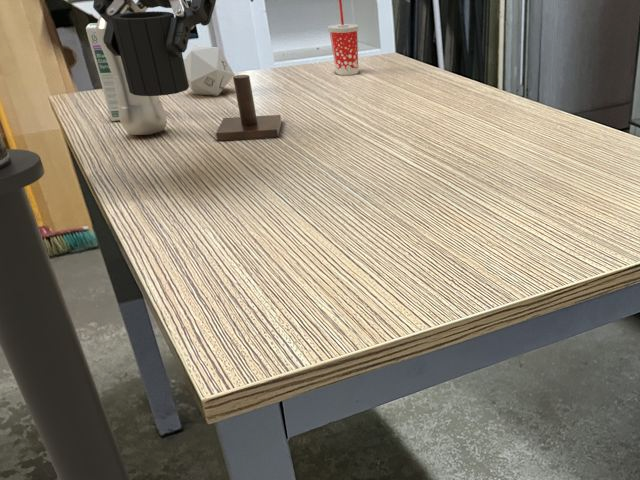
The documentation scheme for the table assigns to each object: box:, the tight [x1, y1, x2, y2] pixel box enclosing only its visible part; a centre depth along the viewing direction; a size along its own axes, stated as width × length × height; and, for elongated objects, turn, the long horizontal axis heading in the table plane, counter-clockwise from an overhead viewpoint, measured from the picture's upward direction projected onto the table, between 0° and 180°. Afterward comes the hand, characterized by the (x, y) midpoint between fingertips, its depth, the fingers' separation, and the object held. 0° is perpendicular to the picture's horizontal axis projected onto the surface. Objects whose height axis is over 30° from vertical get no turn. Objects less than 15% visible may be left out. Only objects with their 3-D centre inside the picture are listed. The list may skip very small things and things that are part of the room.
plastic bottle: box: [96, 6, 167, 136], centre depth 105 cm, size 6×7×20 cm
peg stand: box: [216, 74, 282, 142], centre depth 109 cm, size 9×9×8 cm
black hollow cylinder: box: [111, 10, 190, 97], centre depth 81 cm, size 6×6×8 cm
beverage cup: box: [327, 0, 359, 76], centre depth 144 cm, size 6×6×14 cm
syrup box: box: [85, 22, 120, 122], centre depth 116 cm, size 6×6×14 cm
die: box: [183, 45, 235, 97], centre depth 132 cm, size 8×9×10 cm
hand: (143, 52), depth 79 cm, fingers closed on black hollow cylinder, 6 cm apart
